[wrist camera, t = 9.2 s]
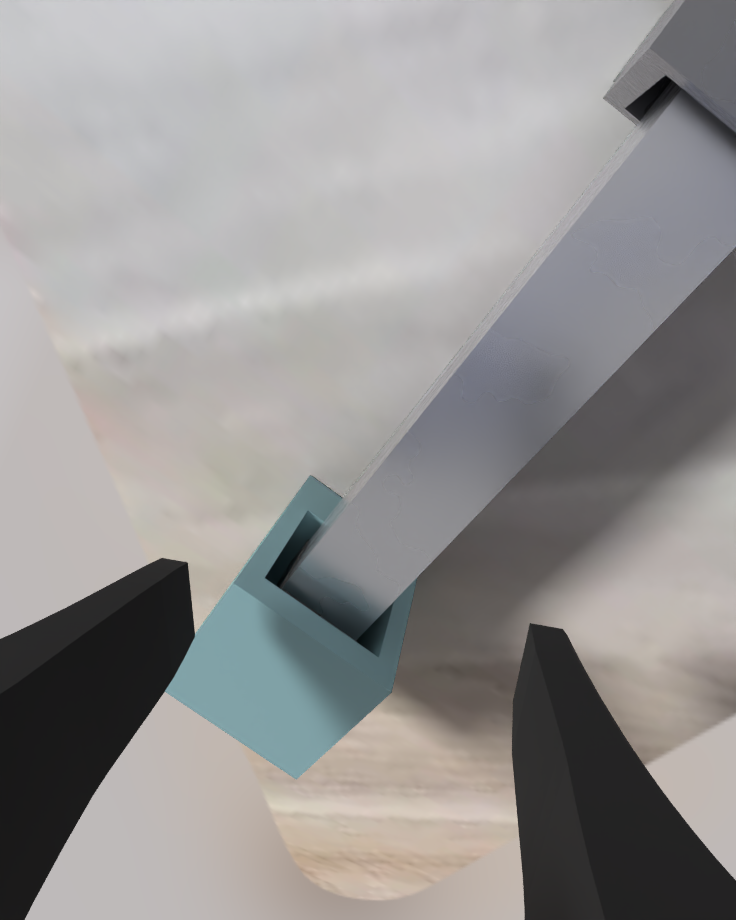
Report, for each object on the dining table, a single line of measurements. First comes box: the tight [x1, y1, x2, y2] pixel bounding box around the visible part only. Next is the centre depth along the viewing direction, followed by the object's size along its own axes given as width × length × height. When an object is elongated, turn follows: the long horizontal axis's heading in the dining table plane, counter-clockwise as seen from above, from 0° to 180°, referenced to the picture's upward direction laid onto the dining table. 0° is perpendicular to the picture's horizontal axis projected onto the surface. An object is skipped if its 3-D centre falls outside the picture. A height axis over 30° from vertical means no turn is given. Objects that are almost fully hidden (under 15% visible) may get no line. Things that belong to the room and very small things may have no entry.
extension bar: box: [276, 80, 736, 642], centre depth 14 cm, size 3×17×3 cm, turn 145°
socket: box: [165, 475, 417, 779], centre depth 18 cm, size 5×5×6 cm
